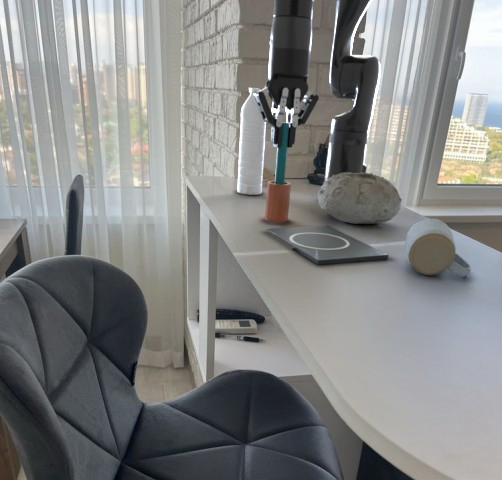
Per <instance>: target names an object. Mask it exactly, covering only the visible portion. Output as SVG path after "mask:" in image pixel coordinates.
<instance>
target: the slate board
mask: <svg viewBox="0 0 502 480" xmlns="http://www.w3.org/2000/svg"><path fill="white" fill-rule="evenodd" d="M266 231H267V233H269V234H272V235H273V236H275V237H276V238H278V239H280V241H282V242H284V243H286V244H288V245H289V246H291V247H292V248H291V249H292V250H293V251H295V252H296V253H298V254H300V255H302V256H303V257H305V258H306V259H308V260H309V261H311V262H313V263H314V264H316V266H317V265H318V266H320V265H321V266H322V265H333V264H334V265H335V264H343V263H345V264H346V263H357V262H367V261H380V260H388V259H389V254H388V253H385V252H384V251H381V250H379V249H378V248H376V247H373V246H371V245H368V244H367V243H366V242H363V241H361V240H359V239H357V238H355V237H353V236H351V235H349V234H346V233H344V232H342V231H341V230H338V229H336V228H334V227H332V226H330V225H316V226H315V225H313V226H295V227H294V226H293V227H275V228H274V227H272V228H266Z"/></svg>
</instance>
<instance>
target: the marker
mask: <svg viewBox="0 0 502 480" xmlns="http://www.w3.org/2000/svg"><path fill="white" fill-rule="evenodd" d="M281 128H282V137H281V147H280V148H276V159H275V172H274V174H275V175H274V181H275V184H284V182H286V169H287V155H288V148H287V146H288V134H289V123H287V122H283V121H282V125H281Z"/></svg>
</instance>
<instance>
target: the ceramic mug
mask: <svg viewBox="0 0 502 480" xmlns="http://www.w3.org/2000/svg"><path fill="white" fill-rule="evenodd" d="M404 247H405V251H406V257H407V261H408V263H409V265H410V266H411V268H412V269H413V270H414V271H416V272H417V273H419V274H421V275H423V276H424V275H425V276H436V275H437V276H438V275H439V274H442V273H444V272H445V271H446V270H448V271H449V272H451V273H453V274H454V275H456V276H458V277H462V278H464V277H467V276H468V275H469V273H470V272H471V271H472V267H471V265H470V263H468V261H466V260H465V259H464V258H463V257H462V256H460V255H459V254H458V253H456V250H457V249H456V243H455V240H454V235H453V232H452V230H451V228H450V227H449V226H448V224H447V223H445V222H444V221H442V220H441V219H437V218H424V219H420V220H418V221H416V222H415V223H414V224H413V225H412V226H411V227H410V228H409V230H408V231H407V233H406V236H405V241H404Z"/></svg>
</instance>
